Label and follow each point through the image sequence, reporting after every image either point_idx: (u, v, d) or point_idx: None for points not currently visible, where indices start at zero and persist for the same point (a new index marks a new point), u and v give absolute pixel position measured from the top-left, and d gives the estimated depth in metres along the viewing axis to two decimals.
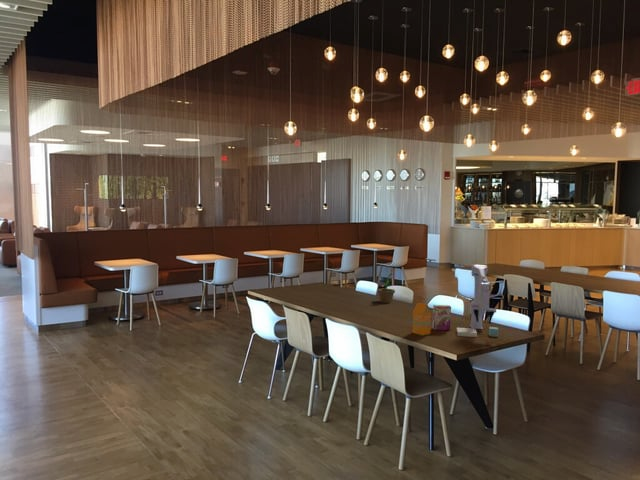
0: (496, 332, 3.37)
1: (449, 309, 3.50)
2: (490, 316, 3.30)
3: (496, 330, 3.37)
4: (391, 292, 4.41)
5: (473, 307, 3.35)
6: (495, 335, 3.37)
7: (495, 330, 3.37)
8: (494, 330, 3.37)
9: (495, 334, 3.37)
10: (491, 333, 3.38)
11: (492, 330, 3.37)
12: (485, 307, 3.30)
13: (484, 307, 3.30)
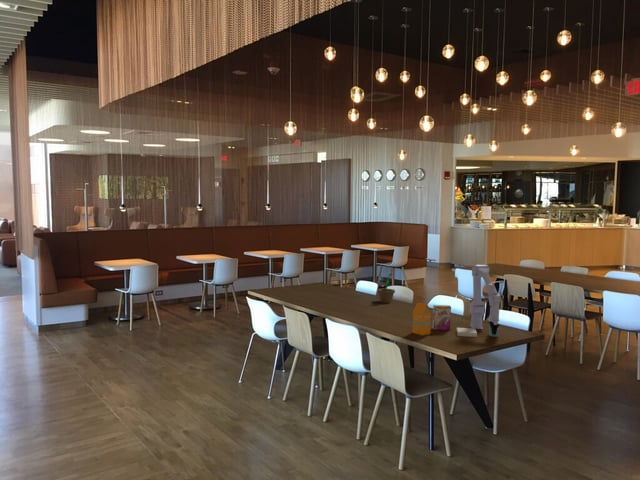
0: (496, 332, 3.37)
1: (449, 309, 3.50)
2: (491, 327, 3.37)
3: None
4: (391, 292, 4.41)
5: None
6: (495, 335, 3.37)
7: None
8: None
9: None
10: (491, 332, 3.38)
11: None
12: (490, 318, 3.38)
13: None
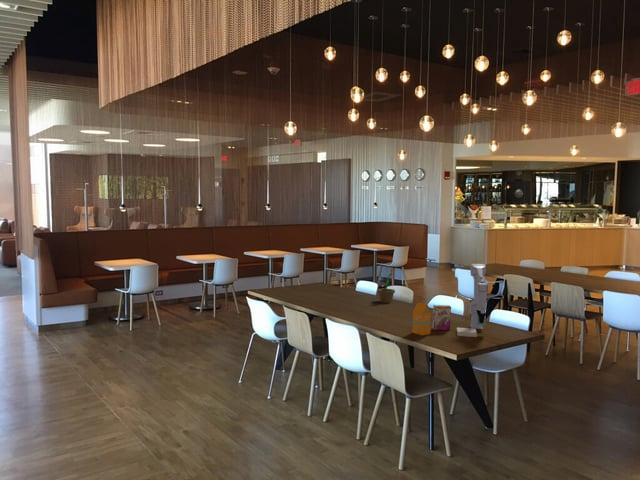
0: (484, 321, 3.38)
1: (449, 309, 3.50)
2: (478, 315, 3.37)
3: (484, 319, 3.38)
4: (391, 292, 4.41)
5: None
6: (483, 324, 3.38)
7: None
8: None
9: (483, 323, 3.38)
10: (478, 321, 3.38)
11: None
12: (477, 306, 3.39)
13: (477, 306, 3.40)
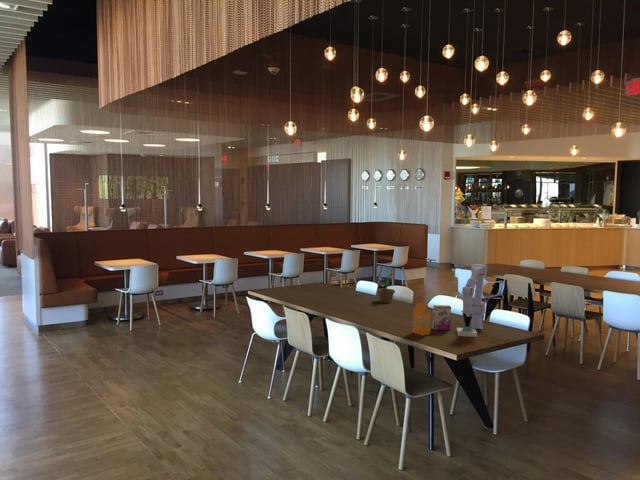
0: (469, 327, 3.39)
1: (449, 309, 3.50)
2: (464, 319, 3.38)
3: (469, 325, 3.39)
4: (391, 292, 4.41)
5: None
6: (468, 330, 3.40)
7: None
8: None
9: (468, 329, 3.39)
10: (464, 327, 3.40)
11: None
12: (463, 309, 3.41)
13: (463, 309, 3.41)
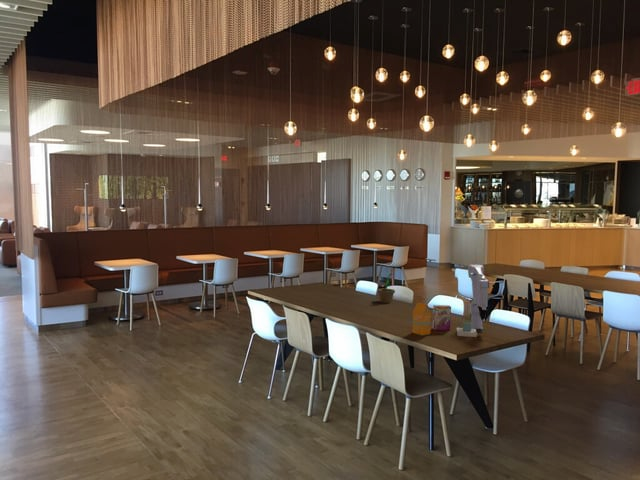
0: (469, 327, 3.40)
1: (449, 309, 3.50)
2: (480, 312, 3.40)
3: (469, 325, 3.39)
4: (391, 292, 4.41)
5: None
6: (468, 330, 3.40)
7: (468, 325, 3.40)
8: (467, 325, 3.40)
9: (468, 329, 3.40)
10: (463, 327, 3.40)
11: (465, 325, 3.40)
12: (479, 303, 3.43)
13: (478, 303, 3.44)
